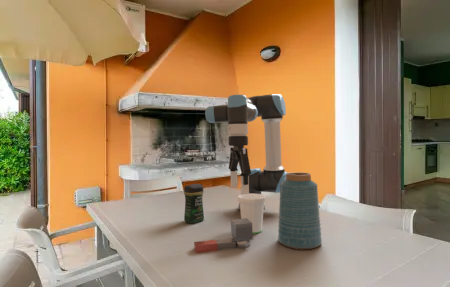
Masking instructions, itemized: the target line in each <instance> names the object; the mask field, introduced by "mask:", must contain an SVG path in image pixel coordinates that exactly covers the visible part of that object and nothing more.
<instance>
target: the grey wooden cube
mask: <svg viewBox="0 0 450 287" xmlns="http://www.w3.org/2000/svg"><path fill="white" fill-rule="evenodd" d="M230 225H231V226H230V229H231V230H230V231H231V234H230V235H231V238H233V239H235V241H244V240H250V241H252V240H254V239H253V234H252V222H250V221H249V220H248V219H247V218H245V219H241V218H236V219H230Z"/></svg>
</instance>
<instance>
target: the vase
mask: <svg viewBox="0 0 450 287" xmlns="http://www.w3.org/2000/svg"><path fill="white" fill-rule="evenodd" d="M311 176H312V175H311V173H308V172H303V171H302V172H295V171H294V172H293V171H292V172H287V174H286V180H285V181H283V182H282V183H281V184H280V193H279V205H278V206H279V207H278V208H279V209H278V211H279V212H278V225H277V226H278V229H277V230H278V232H277V233H278V235H277V240H278V242H279V243H280V244H282V245H283V246H285V247H287V248H290V249H294V250H301V251H302V250H303V251H304V250H305V251H306V250H312V249H313V250H314V249H316V248H317V247H319V246H321V244H322V242H323V240H322V239H323V238H322V226H321V225H322V224H321V216H320V204H319V192H318V190H319V189H318V184H317V183H316V182H315V181H314V180H312V177H311Z"/></svg>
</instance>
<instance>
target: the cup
mask: <svg viewBox="0 0 450 287" xmlns="http://www.w3.org/2000/svg"><path fill="white" fill-rule="evenodd" d="M266 198H267V195H264V194H262V193H261V194H239V195H238V196H237V201H238V204H239V203H240V210H239V211H240V219H245V218H247V219H248V220H249V221H250V222H252V235H255V234H260V233H262V232H263V221H264V220H263V219H264V211H265V209H264V205H265V203H266V200H267V199H266Z"/></svg>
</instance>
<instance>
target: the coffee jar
mask: <svg viewBox="0 0 450 287" xmlns="http://www.w3.org/2000/svg"><path fill="white" fill-rule="evenodd" d="M204 191H205V190H204V185H203V184H200V183H192V184H187V185H185V186H184V189H183V194H184V197H185V203H184V204H185V205H184V214H183V215H184V222H185V223H187V224H196V223H201V222H202V221H204V220H205V214H204V204H203V195H204V193H205V192H204Z"/></svg>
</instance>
